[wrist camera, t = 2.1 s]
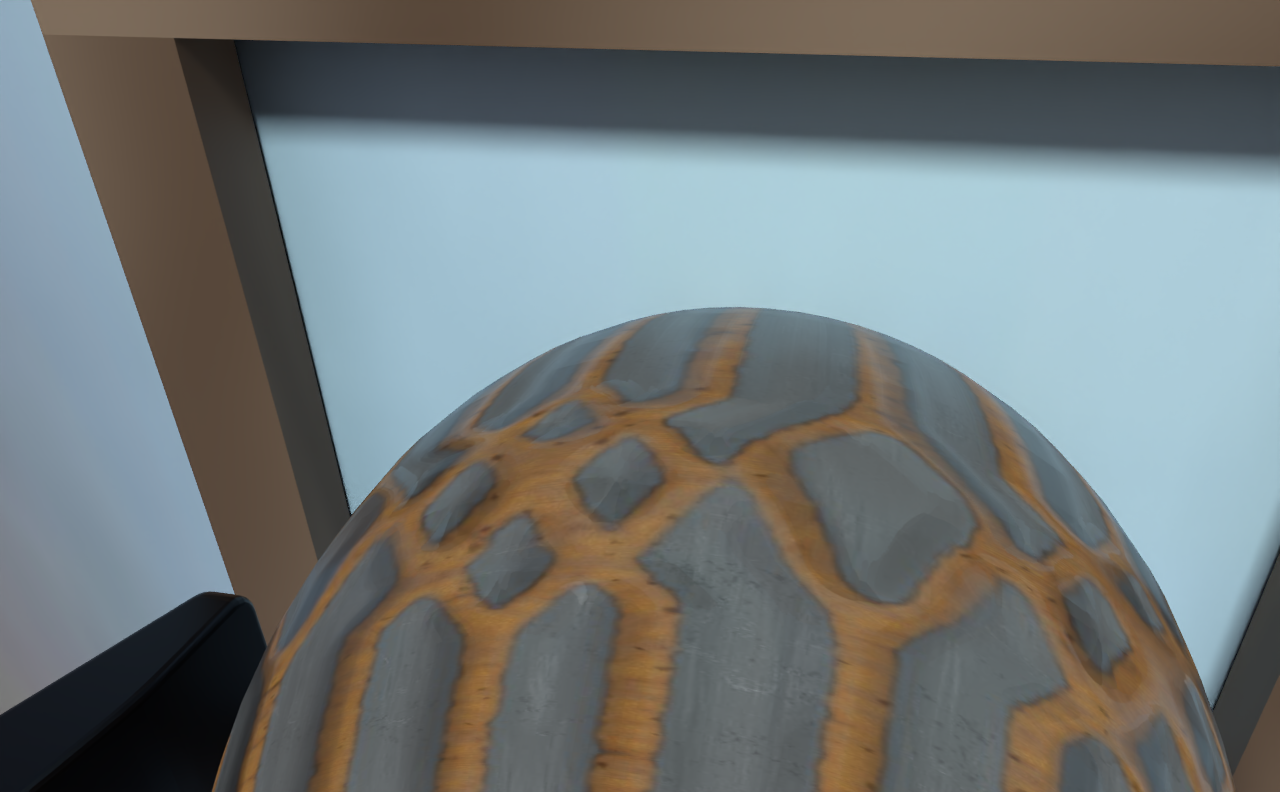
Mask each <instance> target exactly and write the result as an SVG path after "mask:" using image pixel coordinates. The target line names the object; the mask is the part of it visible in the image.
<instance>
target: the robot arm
mask: <svg viewBox="0 0 1280 792" xmlns="http://www.w3.org/2000/svg"><path fill="white" fill-rule="evenodd" d="M266 648H267V644H266V641H265V638H264V635H263V632H262V629H261V626H260V623H259V620H258V617H257V614H256V611H255V608H254V606H253V604H252V602H251V601H250V600H249V599H247V598H246V597H244V596H241V595H234V594H227V593H219V592H203V593H201V594H198V595H196V596H194V597H192V598H191V599H189V600H187V601H186V602H184V603H183V604H181V605H179V606H178V607H176V608H174V609H173V610H171V611H169V612H168V613H166V614H165V615H163V616H161V617H160V618H158V619H156V620H155V621H153V622H152V623H150V624H148V625H147V626H145V627H143V628H142V629H140V630H138V631H137V632H135V633H134V634H132V635H130V636H129V637H127V638H125V639H124V640H122V641H120V642H119V643H117V644H116V645H114V646H112V647H111V648H109V649H107V650H106V651H104V652H102V653H101V654H99V655H98V656H96V657H94V658H93V659H91V660H89V661H88V662H86V663H84V664H83V665H81V666H80V667H78V668H76V669H75V670H73V671H71V672H70V673H68V674H66V675H65V676H63V677H62V678H60V679H58V680H57V681H55V682H53V683H52V684H50V685H48V686H47V687H45V688H44V689H42V690H40V691H39V692H37V693H35V694H34V695H32V696H30V697H29V698H27V699H26V700H24V701H22V702H21V703H19V704H17V705H16V706H14V707H13V708H11V709H9V710H8V711H6V712H4V713H3V714H1V715H0V792H212V789H213V785H214V782H215V778H216V775H217V772H218V769H219V765H220V762H221V759H222V756H223V753H224V750H225V748H226V745H227V742H228V739H229V736H230V734H231V731H232V728H233V725H234V722H235V719H236V717H237V714H238V711H239V708H240V705H241V702H242V700H243V698H244V696H245V694H246V692H247V689H248V687H249V685H250V683H251V681H252V678H253V676H254V674H255V672H256V670H257V667H258V665H259V663H260V661H261V659H262V657H263V654H264V652H265V650H266Z"/></svg>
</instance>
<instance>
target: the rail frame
mask: <svg viewBox="0 0 1280 792" xmlns="http://www.w3.org/2000/svg"><path fill="white" fill-rule="evenodd" d="M31 2H32V5H33V8H34V11H35V14H36V17H37V19H38V22H39V25H40V28H41V31H42V34H43V37H44V40H45V43H46V46H47V49H48V51H49V54H50V57H51V60H52V63H53V66H54V69H55V72H56V75H57V78H58V81H59V83H60V86H61V89H62V92H63V95H64V98H65V101H66V104H67V107H68V110H69V113H70V115H71V118H72V121H73V124H74V127H75V130H76V133H77V136H78V139H79V142H80V145H81V148H82V150H83V153H84V156H85V159H86V162H87V165H88V168H89V171H90V174H91V177H92V180H93V182H94V185H95V188H96V191H97V194H98V197H99V200H100V203H101V206H102V209H103V212H104V214H105V217H106V220H107V223H108V226H109V229H110V232H111V235H112V238H113V241H114V244H115V247H116V249H117V252H118V255H119V258H120V261H121V264H122V267H123V270H124V273H125V276H126V279H127V281H128V284H129V287H130V290H131V293H132V296H133V299H134V302H135V305H136V308H137V311H138V313H139V316H140V319H141V322H142V325H143V328H144V331H145V334H146V337H147V340H148V343H149V346H150V348H151V351H152V354H153V357H154V360H155V363H156V366H157V369H158V372H159V375H160V378H161V380H162V383H163V386H164V389H165V392H166V395H167V398H168V401H169V404H170V407H171V410H172V412H173V415H174V418H175V421H176V424H177V427H178V430H179V433H180V436H181V439H182V442H183V444H184V447H185V450H186V453H187V456H188V459H189V462H190V465H191V468H192V471H193V474H194V477H195V479H196V482H197V485H198V488H199V491H200V494H201V497H202V500H203V503H204V506H205V509H206V511H207V514H208V517H209V520H210V523H211V526H212V529H213V532H214V535H215V538H216V541H217V543H218V546H219V549H220V552H221V555H222V558H223V561H224V564H225V567H226V570H227V573H228V576H229V578H230V581H231V584H232V587H233V590H234V593H235V595H241V596H244V597H246V598H247V599H249V600H250V601H251V602H252V604H253V606H254V608H255V611H256V614H257V617H258V620H259V623H260V626H261V629H262V632H263V635H264V638H265V641H266V644H267V646H268V644H269V642H270V640H271V637H272V635H273V633H274V631H275V629H276V628H277V626H278V624H279V623H280V621H281V620H282V618H283V616H284V615H285V613H286V611H287V610H288V608H289V606H290V605H291V603H292V601H293V600H294V598H295V597H296V595H297V593H298V592H299V590H300V588H301V587H302V585H303V583H304V582H305V580H306V579H307V577H308V576H309V574H310V573H311V571H312V569H313V568H314V566H315V565H316V563H317V562H318V560H319V559H320V558H321V556H322V555H323V553H324V552H325V551H326V549H327V548H328V547H329V545H330V544H331V543H332V541H333V540H334V538H335V537H336V536H337V534H338V533H339V532H340V530H341V529H342V528H343V526H344V525H345V523H346V522H347V521H348V519H349V518H350V515H349V511H348V507H347V503H346V498H345V494H344V490H343V486H342V482H341V478H340V474H339V470H338V466H337V462H336V457H335V453H334V449H333V445H332V441H331V437H330V433H329V429H328V425H327V421H326V416H325V412H324V408H323V404H322V400H321V396H320V392H319V388H318V384H317V380H316V376H315V371H314V367H313V363H312V359H311V355H310V351H309V347H308V343H307V339H306V335H305V330H304V326H303V322H302V318H301V314H300V310H299V306H298V302H297V298H296V294H295V289H294V285H293V281H292V277H291V273H290V269H289V265H288V261H287V257H286V253H285V248H284V244H283V240H282V236H281V232H280V228H279V224H278V220H277V216H276V212H275V208H274V203H273V199H272V195H271V191H270V187H269V183H268V179H267V175H266V171H265V167H264V162H263V158H262V154H261V150H260V146H259V142H258V138H257V134H256V130H255V126H254V121H253V117H252V113H251V109H250V105H249V101H248V97H247V93H246V89H245V85H244V80H243V76H242V72H241V68H240V64H239V60H238V56H237V52H236V48H235V44H234V40H233V39H235V40H274V41H313V42H352V43H391V44H429V45H468V46H507V47H546V48H585V49H623V50H662V51H701V52H740V53H779V54H817V55H856V56H895V57H934V58H973V59H1012V60H1050V61H1089V62H1128V63H1167V64H1206V65H1244V66H1280V0H31ZM1213 715H1214V718H1215V721H1216V724H1217V727H1218V730H1219V732H1220V735H1221V738H1222V741H1223V744H1224V748H1225V751H1226V755H1227V759H1228V762H1229V766H1230V769H1231V773H1232V777H1233V781H1234V785H1235V789H1236V792H1280V553H1279V556H1278V558H1277V560H1276V563H1275V565H1274V568H1273V570H1272V572H1271V575H1270V577H1269V580H1268V582H1267V584H1266V587H1265V589H1264V592H1263V594H1262V596H1261V599H1260V601H1259V603H1258V606H1257V608H1256V611H1255V613H1254V615H1253V618H1252V620H1251V623H1250V625H1249V627H1248V630H1247V632H1246V634H1245V637H1244V639H1243V642H1242V644H1241V646H1240V649H1239V651H1238V654H1237V656H1236V658H1235V661H1234V663H1233V665H1232V668H1231V670H1230V673H1229V675H1228V677H1227V680H1226V682H1225V685H1224V687H1223V689H1222V692H1221V694H1220V697H1219V699H1218V701H1217V704H1216V706H1215V708H1214V711H1213Z"/></svg>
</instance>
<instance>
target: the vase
mask: <svg viewBox="0 0 1280 792" xmlns="http://www.w3.org/2000/svg"><path fill="white" fill-rule="evenodd" d="M212 792H1236V789H1235V785H1234V781H1233V777H1232V773H1231V769H1230V766H1229V762H1228V759H1227V755H1226V751H1225V748H1224V744H1223V741H1222V738H1221V735H1220V732H1219V730H1218V727H1217V724H1216V721H1215V718H1214V715H1213V713H1212V710H1211V707H1210V704H1209V701H1208V698H1207V695H1206V693H1205V690H1204V687H1203V684H1202V681H1201V679H1200V676H1199V674H1198V671H1197V669H1196V667H1195V664H1194V662H1193V659H1192V657H1191V654H1190V652H1189V650H1188V648H1187V645H1186V643H1185V641H1184V639H1183V636H1182V634H1181V632H1180V630H1179V627H1178V625H1177V623H1176V621H1175V618H1174V616H1173V614H1172V612H1171V609H1170V607H1169V605H1168V603H1167V600H1166V598H1165V596H1164V594H1163V592H1162V591H1161V589H1160V587H1159V585H1158V583H1157V582H1156V580H1155V578H1154V576H1153V574H1152V573H1151V571H1150V569H1149V568H1148V566H1147V565H1146V563H1145V562H1144V560H1143V559H1142V557H1141V556H1140V554H1139V553H1138V551H1137V550H1136V548H1135V547H1134V545H1133V544H1132V542H1131V541H1130V539H1129V538H1128V537H1127V535H1126V534H1125V532H1124V531H1123V529H1122V528H1121V526H1120V525H1119V523H1118V522H1117V520H1116V519H1115V518H1114V516H1113V515H1112V513H1111V512H1110V510H1109V509H1108V507H1107V506H1106V505H1105V503H1104V502H1103V501H1102V499H1101V498H1100V497H1099V496H1098V495H1097V493H1096V492H1095V491H1094V490H1093V489H1092V488H1091V486H1090V485H1089V484H1088V483H1087V482H1086V480H1085V479H1084V478H1083V477H1082V476H1081V475H1080V474H1079V473H1078V472H1077V470H1076V469H1075V468H1074V467H1073V466H1072V465H1071V464H1070V463H1069V462H1068V461H1067V460H1066V458H1065V457H1064V456H1063V455H1062V454H1061V453H1060V452H1059V451H1058V450H1057V449H1056V448H1055V447H1054V446H1053V445H1052V444H1051V443H1050V442H1049V441H1048V440H1047V439H1046V438H1045V437H1044V436H1043V435H1042V434H1041V433H1040V432H1039V431H1038V430H1037V429H1036V428H1035V427H1034V426H1033V425H1032V424H1030V423H1029V422H1028V421H1027V420H1026V419H1024V418H1023V417H1022V416H1021V415H1020V414H1018V413H1017V412H1016V411H1015V410H1014V409H1012V408H1011V407H1010V406H1008V405H1007V404H1006V403H1004V402H1003V401H1001V400H1000V399H999V398H997V397H996V396H994V395H993V394H991V393H990V392H989V391H987V390H986V389H984V388H983V387H982V386H980V385H979V384H977V383H976V382H974V381H973V380H972V379H970V378H969V377H967V376H966V375H965V374H963V373H961V372H960V371H958V370H956V369H955V368H953V367H951V366H950V365H948V364H946V363H945V362H943V361H941V360H940V359H938V358H936V357H934V356H932V355H930V354H928V353H926V352H924V351H922V350H920V349H918V348H916V347H914V346H911V345H909V344H907V343H904V342H902V341H899V340H897V339H895V338H892V337H890V336H887V335H885V334H882V333H879V332H876V331H873V330H870V329H867V328H864V327H861V326H858V325H854V324H850V323H847V322H843V321H839V320H835V319H831V318H827V317H822V316H817V315H811V314H806V313H801V312H793V311H785V310H776V309H766V308H746V307H725V308H703V309H692V310H682V311H676V312H670V313H664V314H657V315H653V316H649V317H645V318H640V319H636V320H632V321H628V322H625V323H622V324H619V325H616V326H613V327H610V328H607V329H604V330H601V331H598V332H595V333H592V334H589V335H586V336H582V337H579V338H577V339H575V340H572V341H570V342H567V343H565V344H563V345H560V346H558V347H555V348H553V349H551V350H549V351H548V352H546V353H544V354H542V355H540V356H538V357H536V358H534V359H532V360H530V361H529V362H527V363H525V364H523V365H522V366H520V367H518V368H517V369H515V370H513V371H512V372H510V373H508V374H507V375H505V376H503V377H501V378H500V379H498V380H497V381H495V382H493V383H492V384H490V385H489V386H487V387H486V388H484V389H483V390H481V391H479V392H478V393H476V394H475V395H474V396H472V397H471V398H470V399H469V400H467V401H466V402H465V403H464V404H462V405H461V406H460V407H458V408H457V409H456V410H455V411H453V412H452V413H451V414H450V415H449V416H447V417H446V418H445V419H444V420H442V421H441V422H440V423H439V424H437V425H436V426H435V427H434V428H433V429H431V430H430V431H429V432H428V433H426V434H425V435H424V436H423V437H422V438H420V439H419V440H418V441H417V442H416V443H415V444H414V445H413V446H412V447H411V448H410V449H409V450H408V451H407V452H406V453H405V454H404V455H403V456H402V457H401V458H400V459H399V460H398V461H397V462H396V464H395V465H394V466H393V467H392V468H391V469H390V471H389V472H388V473H387V474H386V475H385V476H384V478H383V479H382V480H381V481H380V482H379V483H378V484H377V486H376V487H375V488H374V489H373V490H372V491H371V493H370V494H369V495H368V496H367V497H366V498H365V500H364V501H363V502H362V503H361V504H360V506H359V507H358V508H357V509H356V510H355V512H354V513H353V514H352V515H351V517H350V518H349V519H348V521H347V522H346V523H345V525H344V526H343V528H342V529H341V530H340V532H339V533H338V534H337V536H336V537H335V538H334V540H333V541H332V543H331V544H330V545H329V547H328V548H327V549H326V551H325V552H324V553H323V555H322V556H321V558H320V559H319V560H318V562H317V563H316V565H315V566H314V568H313V569H312V571H311V573H310V574H309V576H308V577H307V579H306V580H305V582H304V583H303V585H302V587H301V588H300V590H299V592H298V593H297V595H296V597H295V598H294V600H293V601H292V603H291V605H290V606H289V608H288V610H287V611H286V613H285V615H284V616H283V618H282V620H281V621H280V623H279V624H278V626H277V628H276V629H275V631H274V633H273V635H272V637H271V640H270V642H269V644H268V646H267V648H266V650H265V652H264V654H263V657H262V659H261V661H260V663H259V665H258V667H257V670H256V672H255V674H254V676H253V678H252V681H251V683H250V685H249V687H248V689H247V692H246V694H245V696H244V698H243V700H242V702H241V705H240V708H239V711H238V714H237V717H236V719H235V722H234V725H233V728H232V731H231V734H230V736H229V739H228V742H227V745H226V748H225V750H224V753H223V756H222V759H221V762H220V765H219V769H218V772H217V775H216V778H215V782H214V785H213V789H212Z"/></svg>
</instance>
